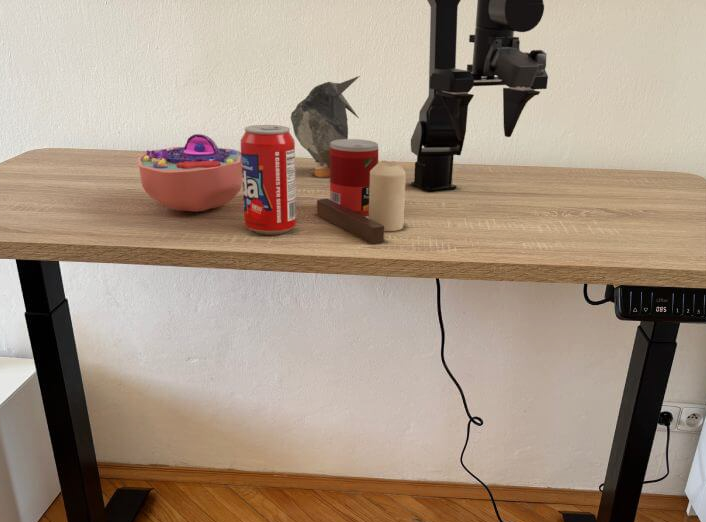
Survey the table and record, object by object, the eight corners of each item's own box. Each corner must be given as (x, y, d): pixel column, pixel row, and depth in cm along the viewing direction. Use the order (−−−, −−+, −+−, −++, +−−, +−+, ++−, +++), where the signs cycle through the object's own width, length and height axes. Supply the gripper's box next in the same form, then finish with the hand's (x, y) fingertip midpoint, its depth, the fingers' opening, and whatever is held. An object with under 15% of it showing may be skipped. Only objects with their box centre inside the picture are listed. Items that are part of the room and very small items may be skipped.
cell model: (115, 215, 125) (105, 142, 119) (186, 190, 141) (181, 124, 136) (206, 229, 119) (200, 153, 114) (269, 201, 136) (267, 133, 130)
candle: (377, 232, 121) (378, 166, 116) (363, 223, 125) (364, 159, 120) (409, 230, 123) (412, 164, 118) (394, 221, 127) (397, 157, 122)
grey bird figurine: (275, 171, 157) (271, 74, 149) (334, 162, 167) (334, 71, 158) (319, 184, 148) (318, 82, 140) (378, 174, 158) (381, 78, 149)
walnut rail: (327, 213, 130) (327, 198, 129) (383, 242, 116) (384, 225, 115) (317, 214, 129) (316, 199, 128) (372, 243, 115) (372, 227, 114)
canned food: (371, 218, 128) (372, 148, 123) (324, 214, 130) (324, 145, 124) (381, 207, 135) (383, 140, 130) (336, 203, 136) (336, 137, 131)
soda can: (301, 235, 118) (299, 131, 111) (248, 238, 116) (243, 132, 109) (291, 221, 125) (288, 123, 117) (241, 224, 122) (236, 123, 115)
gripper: (477, 31, 105) (467, 151, 112) (579, 32, 114) (564, 143, 121) (430, 26, 113) (424, 139, 121) (529, 27, 122) (518, 132, 129)
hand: (484, 138), depth 123 cm, fingers open, 9 cm apart
